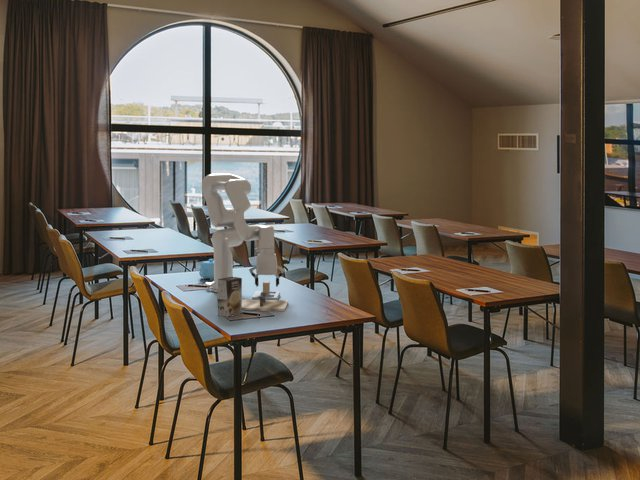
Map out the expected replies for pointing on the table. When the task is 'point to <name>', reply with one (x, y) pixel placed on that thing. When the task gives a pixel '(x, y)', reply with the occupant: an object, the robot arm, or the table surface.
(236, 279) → the coffee box
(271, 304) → the board
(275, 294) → the panel
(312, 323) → the table surface
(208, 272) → the teapot
